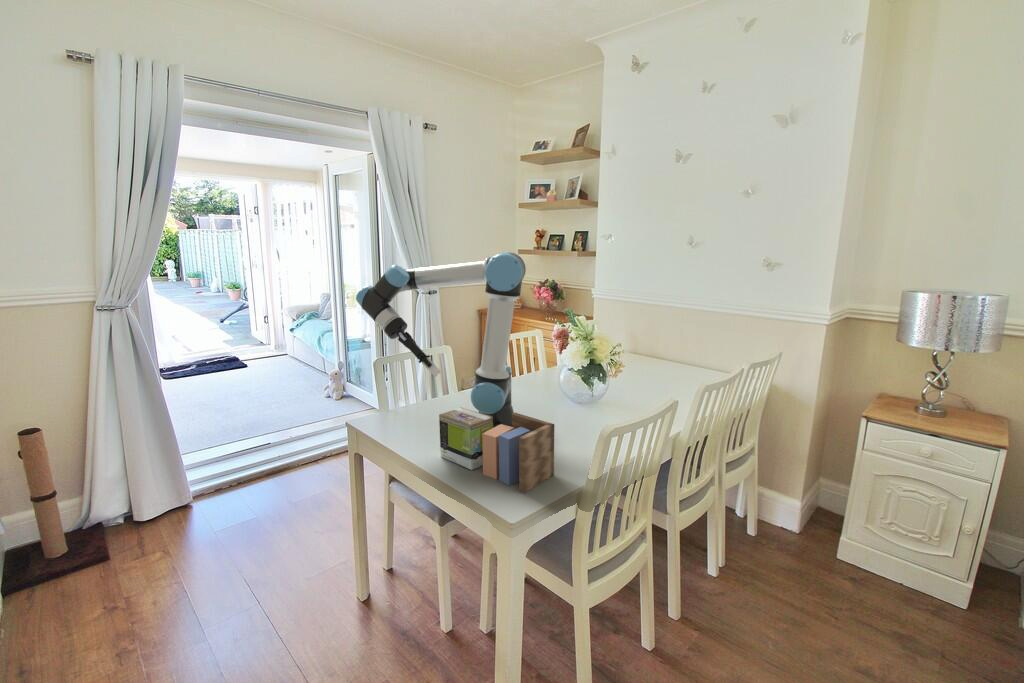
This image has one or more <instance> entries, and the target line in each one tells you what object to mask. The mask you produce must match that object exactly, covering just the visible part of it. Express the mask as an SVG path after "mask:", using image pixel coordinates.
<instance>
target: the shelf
mask: <svg viewBox="0 0 1024 683" xmlns="http://www.w3.org/2000/svg"><path fill="white" fill-rule="evenodd" d="M512 427H514V429H516V428H519V427H523V428H526V429H528V430H531V432H530V433H528V434H526V435H524V436H521V437H519V481H518V486H519V488H518V491H520V492H519V493H521V492H522V493H521V494H523V493H524V494H525V492H526V493H527V492H529V491H531V490H532V489H534V488H535V487H537V486H539V485H541V482H542V483H543V482H545V481H546V479H547V480H549V479H550V478H552V477H553V476H554V475H555V423H552V422H548V421H545V420H542V419H538V418H534V417H531V416H528V415H525V414H521V413H518V412H514V413H513V414H512ZM551 476H552V477H551ZM538 484H539V485H538ZM536 485H537V486H536ZM533 487H534V488H533ZM530 489H531V490H530Z"/></svg>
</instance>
